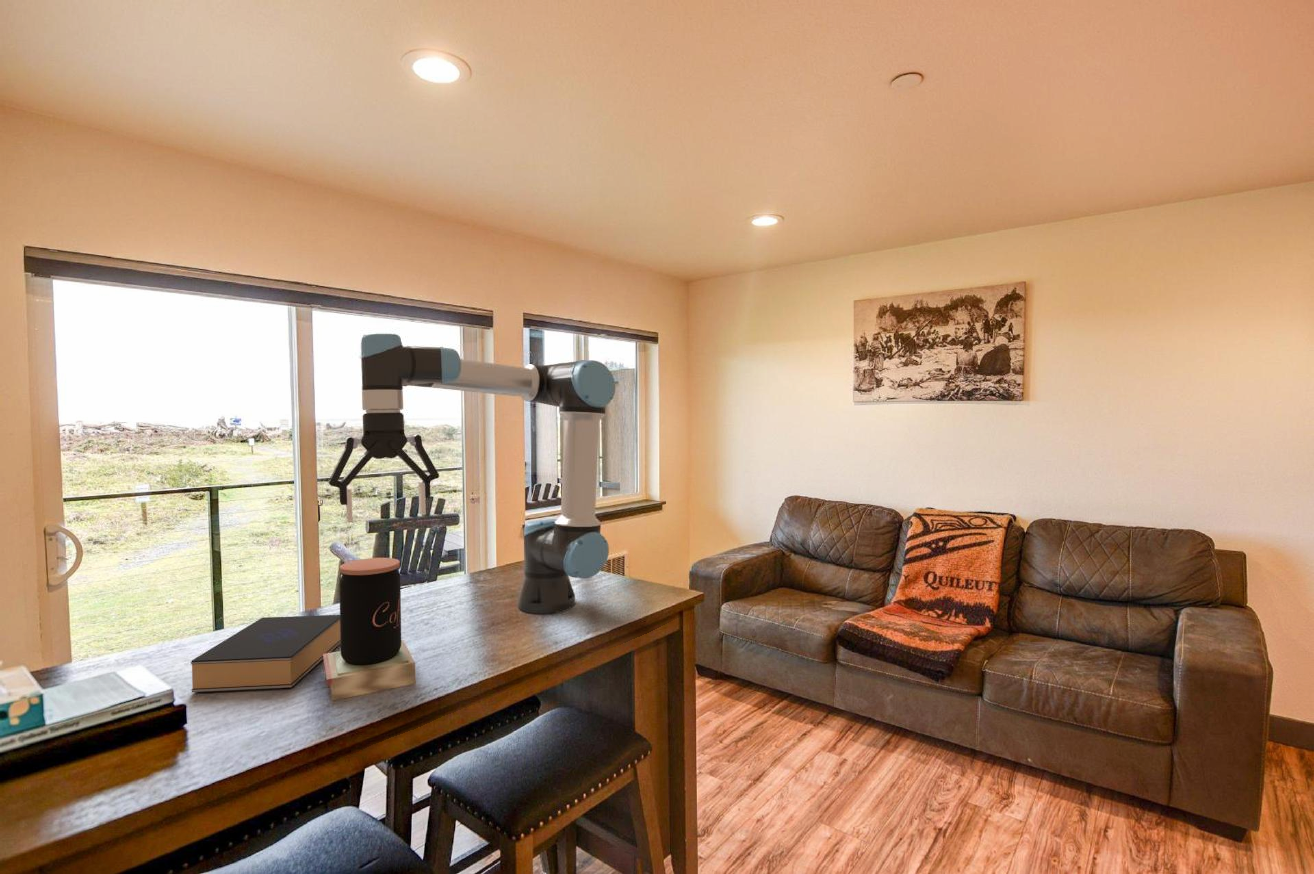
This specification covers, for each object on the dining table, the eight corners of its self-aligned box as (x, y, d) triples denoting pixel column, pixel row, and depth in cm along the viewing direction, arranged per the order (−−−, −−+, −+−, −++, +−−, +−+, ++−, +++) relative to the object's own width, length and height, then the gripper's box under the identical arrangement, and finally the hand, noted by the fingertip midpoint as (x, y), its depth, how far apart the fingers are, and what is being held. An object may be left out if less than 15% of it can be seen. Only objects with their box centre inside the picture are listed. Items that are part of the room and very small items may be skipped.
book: (191, 696, 114) (190, 660, 113) (262, 647, 138) (261, 617, 138) (291, 692, 115) (290, 656, 115) (344, 643, 140) (343, 614, 140)
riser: (403, 659, 130) (403, 638, 130) (415, 683, 118) (415, 661, 118) (323, 674, 123) (322, 652, 122) (327, 701, 110) (326, 677, 110)
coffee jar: (378, 669, 114) (376, 571, 114) (327, 664, 116) (325, 568, 116) (412, 648, 125) (411, 558, 124) (365, 644, 127) (364, 556, 126)
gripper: (443, 410, 134) (446, 508, 135) (310, 413, 121) (315, 521, 122) (451, 410, 128) (455, 513, 128) (312, 412, 114) (317, 527, 115)
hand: (387, 517), depth 125 cm, fingers open, 13 cm apart
